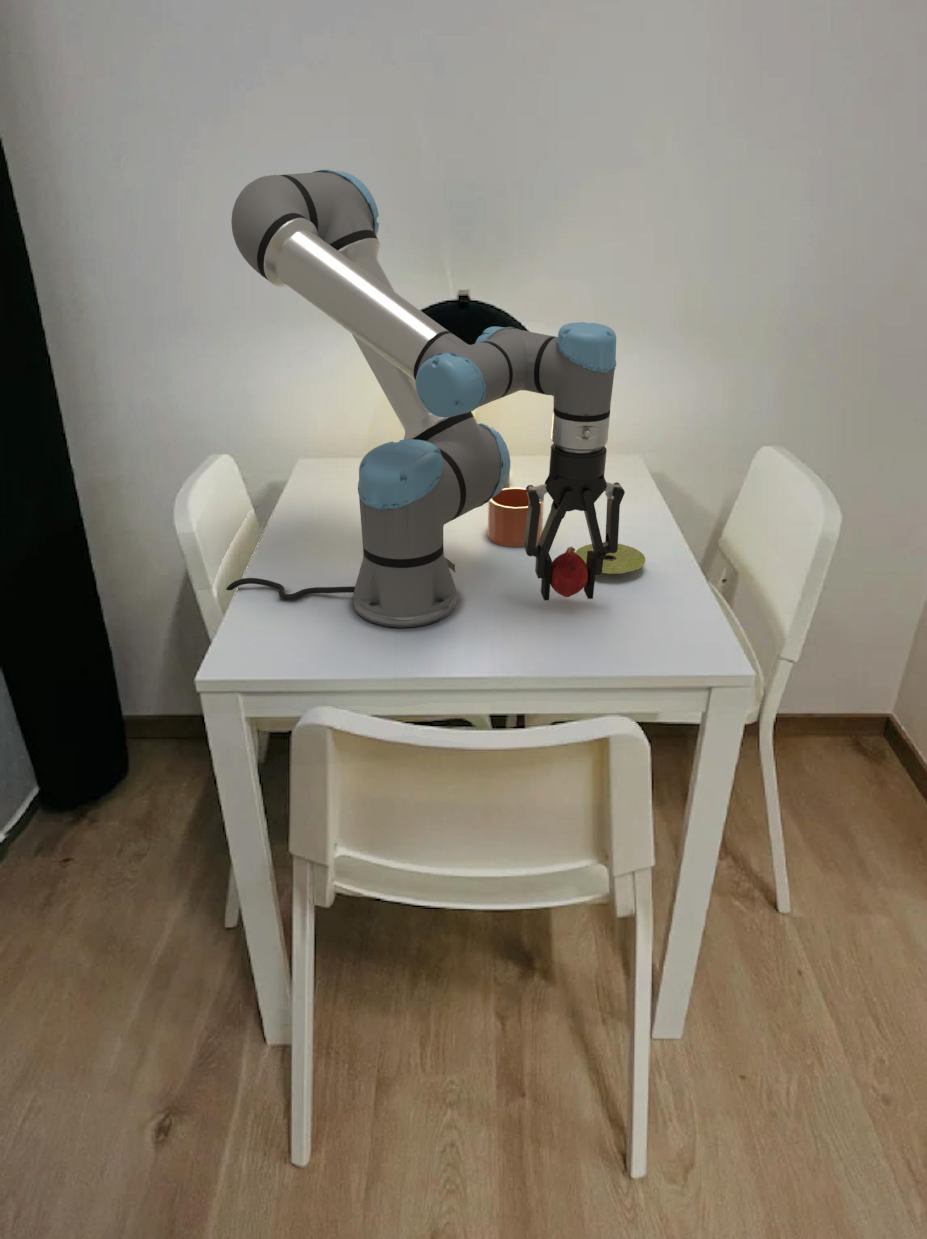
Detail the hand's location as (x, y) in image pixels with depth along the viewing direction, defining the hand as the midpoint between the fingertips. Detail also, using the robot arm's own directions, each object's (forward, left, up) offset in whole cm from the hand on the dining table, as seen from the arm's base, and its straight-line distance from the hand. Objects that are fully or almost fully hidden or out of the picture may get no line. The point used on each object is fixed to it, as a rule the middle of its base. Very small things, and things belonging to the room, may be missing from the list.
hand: (566, 595), depth 134 cm
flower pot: (-4, +26, -2) cm, 26 cm away
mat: (+9, +12, -2) cm, 15 cm away
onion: (0, 0, -1) cm, 1 cm away
